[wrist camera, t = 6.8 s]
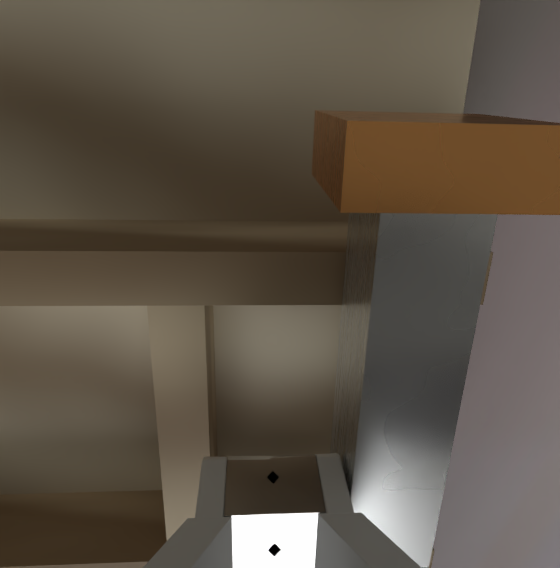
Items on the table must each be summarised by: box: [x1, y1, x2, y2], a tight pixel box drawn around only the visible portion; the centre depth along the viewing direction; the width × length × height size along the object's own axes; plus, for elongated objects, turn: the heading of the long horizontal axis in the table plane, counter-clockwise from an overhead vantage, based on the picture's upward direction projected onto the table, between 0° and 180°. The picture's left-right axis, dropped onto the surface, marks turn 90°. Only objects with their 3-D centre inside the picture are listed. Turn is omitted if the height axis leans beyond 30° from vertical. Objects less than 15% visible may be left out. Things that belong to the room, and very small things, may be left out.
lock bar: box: [312, 110, 560, 568], centre depth 10 cm, size 14×3×3 cm, turn 178°
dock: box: [0, 0, 493, 568], centre depth 13 cm, size 20×22×4 cm
